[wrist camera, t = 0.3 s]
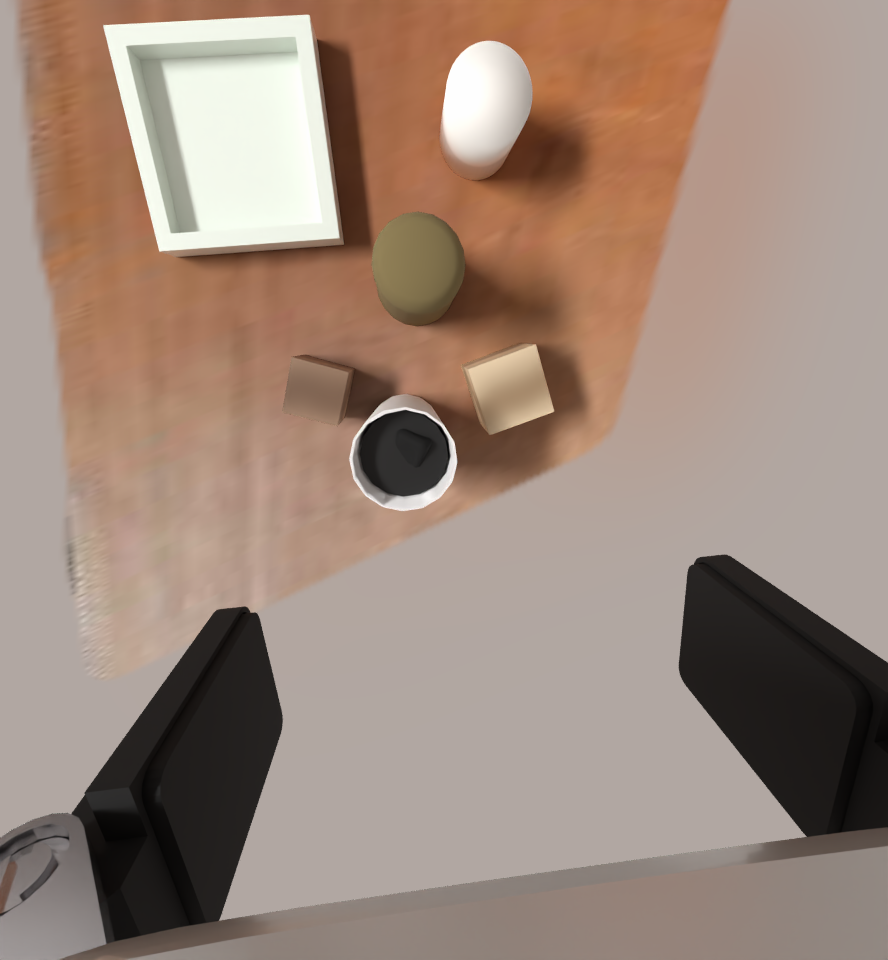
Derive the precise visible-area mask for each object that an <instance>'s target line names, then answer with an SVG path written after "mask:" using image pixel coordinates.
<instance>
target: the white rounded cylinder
mask: <svg viewBox="0 0 888 960" xmlns="http://www.w3.org/2000/svg"><path fill="white" fill-rule="evenodd" d="M531 104H532V83H531V78H530V75H529V72H528V69H527V67H526V65H525V63H524V62H523V60H522V59H521V57H520V56H519V55H518V54H517V53H516V52H515V51H514V50H513V49H511V48H510V47H508V46H507V45H505V44H502V43H500V42H495V41H483V42H479V43H476V44H474V45H472V46H470V47H468V48H467V49H466V50H464V51H463V52H462V53H461V54H460V56H459V57H458V58H457V59H456V61H455V62H454V64H453V66H452V68H451V70H450V73H449V76H448V80H447V85H446V92H445V99H444V106H443V113H442V120H441V127H440V135H439V139H440V148H441V152H442V155H443V157H444V159H445V161H446V163H447V165H448V166H449V167H450V168H451V170H452V171H453V172H455V173H456V174H457V175H459V176H460V177H463V178H465V179H468V180H482V179H485V178H488V177H490V176H491V175H493V174H494V173H495V172H497V171H498V170H499V168H500V167H501V166H502V165H503V163H504V161H505V160H506V158H507V156H508V154H509V152H510V150H511V148H512V147H513V145H514V143H515V141H516V139H517V137H518V136H519V134H520V132H521V130H522V128H523V126H524V124H525V122H526V121H527V118H528V116H529V113H530V109H531Z"/></svg>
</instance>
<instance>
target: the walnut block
mask: <svg viewBox="0 0 888 960" xmlns="http://www.w3.org/2000/svg"><path fill="white" fill-rule="evenodd" d="M354 372H355V368H351V367H348V366H344V365H340V364H337V363H333V362H329V361H325V360H322V359H318V358H314V357H311V356H307V355H300V356H295V357H292V358H291V364H290V370H289V375H288V381H287V387H286V393H285V399H284V405H283V410H282V413H286V414H290V415H294V416H298V417H302V418H306V419H310V420H314V421H318V422H322V423H326V424H330V425H334V426H338V425H339V424H340V423H341V421H342V420H343V419H344V418H345V414H346V409H347V405H348V400H349V395H350V391H351V386H352V381H353V377H354Z"/></svg>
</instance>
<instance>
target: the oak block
mask: <svg viewBox="0 0 888 960" xmlns="http://www.w3.org/2000/svg"><path fill="white" fill-rule="evenodd" d="M461 368H462V371H463V374H464V377H465V380H466V383H467V386H468V389H469V392H470V395H471V398H472V401H473V404H474V407H475V410H476V413H477V416H478V419H479V422H480V424H481V425H482V426H483V428H484V429H485V430H486V431H487V433H488V434H489V435H492V434H495V433H497V432H500V431H503V430H506V429H508V428H511V427H514V426H517V425H519V424H522V423H525V422H528V421H530V420H533V419H536V418H539V417H541V416H544V415H547V414H550V413H552V412H554V409H553V405H552V401H551V398H550V394H549V390H548V387H547V383H546V379H545V376H544V372H543V368H542V365H541V361H540V358H539V354H538V350H537V347H536V344H524V343H519V344H516V345H513V346H510V347H508V348H505V349H502V350H500V351H497V352H494V353H492V354H489V355H486V356H483V357H481V358H478V359H475V360H473V361H470V362H467V363H465V364H462V365H461Z"/></svg>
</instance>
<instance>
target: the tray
mask: <svg viewBox="0 0 888 960" xmlns="http://www.w3.org/2000/svg"><path fill="white" fill-rule="evenodd" d="M103 26H104V30H105V34H106V38H107V42H108V46H109V50H110V54H111V58H112V62H113V66H114V71H115V75H116V79H117V83H118V87H119V91H120V95H121V99H122V103H123V107H124V111H125V115H126V119H127V123H128V127H129V131H130V135H131V139H132V143H133V147H134V151H135V155H136V159H137V163H138V167H139V171H140V175H141V179H142V183H143V187H144V191H145V195H146V199H147V203H148V207H149V211H150V215H151V219H152V223H153V227H154V231H155V235H156V239H157V243H158V247H159V251H160V252H163V253H166V254H169V255H172V256H175V257H184V256H197V255H211V254H224V253H238V252H251V251H265V250H278V249H292V248H305V247H319V246H332V245H344V239H343V232H342V224H341V217H340V209H339V202H338V194H337V187H336V179H335V172H334V164H333V157H332V149H331V142H330V134H329V127H328V119H327V112H326V104H325V97H324V89H323V82H322V74H321V67H320V59H319V52H318V44H317V38H316V35H315V32H314V29H313V25H312V22H311V19H310V16H309V15H296V16H276V17H257V18H237V19H217V20H198V21H178V22H159V23H139V24H120V25H103Z"/></svg>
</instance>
